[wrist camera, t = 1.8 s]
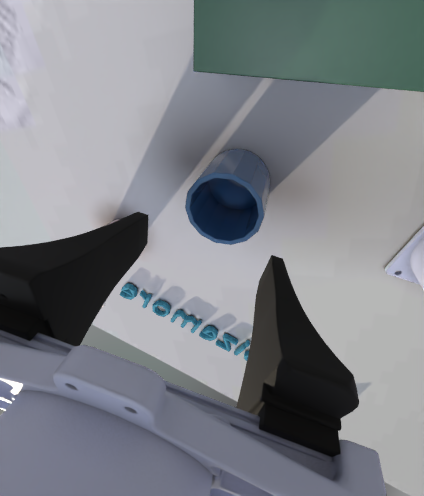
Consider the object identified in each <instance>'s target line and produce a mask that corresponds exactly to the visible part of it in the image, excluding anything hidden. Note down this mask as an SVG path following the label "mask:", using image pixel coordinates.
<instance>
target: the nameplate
mask: <svg viewBox="0 0 424 496" xmlns="http://www.w3.org/2000/svg"><path fill="white" fill-rule="evenodd" d="M120 295H121V296H122V297H124V298H126V299H130V300H131V299H133V298H134V297H136V296H137V288H136V287H135V286H134V285H132V284H128V283H127V284H125V285H124V286H123V287H122V290H121V293H120ZM140 296H142V297H143V299H144V300H145V301H144V304H143V308H145V307H147V304H148V302H149V300H150V298H151V294H148V295H147V294H146V292H145V291H144V290H142V291H141V293H140ZM157 306H162V307H163V308H165V309H166V311H162V310H160V309H159V308H157ZM153 312H154V313H156V314H157V315H159V316H163V317H165V316H166V315H168V314H169V313H170V305H169V304H168V303H166V302H165V301H161V300H158V301H156V302H155V303H154V304H153ZM179 316H181V317H182V318H183V319H184V321H183V323H182V324H181V327H182V328H183V327H184V326H185V325H186V324H187V322H192V323H193V324H194V327H193V328H192V329H191V332H192V333H194V332H195V330H196V329H197V328H198V327H199V326H200V324H201V323H202V321H201V320H199V321H197V320H196V319H195V318H194V316H187V315H186V314H185V313H184V312H183V311H182V310H178V311H176V313H175V314H174V315H173V317H172V318H171V322H172V323H173V322H174V321H175V319H176V318H177V317H179ZM202 331H203V332H202ZM202 331H201V332H200V334H199V336H200V337H202V338H203V339H206V340H209V341H211V340H214V339H216V337H217V334H218V330H216V329H215V328H214V327H212V326H207V327H205V328H204V329H203V330H202ZM223 340H224V342H225V343H223V342H221V341H219V340H217V341H216V345H217V346H219V347H221V348H223V349H225V350H227V351H230V350H231V345H230V343H229V342H231V343H233V344H235V345H237V343H238V340H237V339H236V338H234V337H232V336H230V335H228V334H226V333H225V334H224V335H223ZM249 345H250V341H248V340H247V341H246V342H245V343H243V344H242V345H241V346H239V347H238V348H237V349H236V350H235V351H234V355H236V356H237V355H238V354H239V353H241V352H242V351H243V350H244V349H245V348H246V347H248V346H249ZM248 355H249V350H248V351H246V352H245V354H244V359H245V360H246V361H247V359H248Z"/></svg>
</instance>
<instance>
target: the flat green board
mask: <svg viewBox="0 0 424 496" xmlns="http://www.w3.org/2000/svg"><path fill="white" fill-rule="evenodd" d="M194 71H196V72H207V73H219V74H230V75H241V76H252V77H263V78H275V79H286V80H297V81H308V82H319V83H331V84H342V85H353V86H364V87H376V88H387V89H398V90H409V91H420V92H424V0H194Z"/></svg>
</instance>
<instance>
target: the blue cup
mask: <svg viewBox="0 0 424 496" xmlns="http://www.w3.org/2000/svg"><path fill="white" fill-rule="evenodd" d="M269 189H270V177H269V172H268V169H267V167H266V165H265V164H264V162H263V161H262V160H261V159H260V158H259V157H258V156H257V155H255V154H254V153H252V152H250V151H247V150H243V149H231V150H227V151H224V152H223V153H221V154H219V155H218V156H216V157H215V158H214V159H213V161H212V162H211V163H210V164H209V166H208V167H207V168H206V169H205V171H204V172H203V173H202V174H201V175H200V177H199V178H198V179H197V180H196V182H195V183H194V184H193V186H192V187H191V188H190V189H189V191H188V193H187V199H186V206H185V208H186V211H187V214H188V217H189V221H190V223H191V224H192V225H193V226H194V228H195V229H196V230H197V231H198V232H199V233H200V234H201V235H202V236H204V237H206V238H208V239H210V240H211V241H213V242H216V243H222V244H230V245H232V244H236V243H240V242H244V241H247V240H248V239H249V238H250V237H252V236H253V235H254V234H255V233H256V232H258V230H259V228H260V226H261V223H262V220H263V218H264V214H265V209H266V204H267V199H268V194H269Z"/></svg>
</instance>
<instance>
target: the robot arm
mask: <svg viewBox="0 0 424 496" xmlns="http://www.w3.org/2000/svg"><path fill="white" fill-rule="evenodd" d="M147 238H148V215H146V214H143V213H140V212H137V213H134V214H132V215H129V216H127V217H125V218H123V219H120V220H118V221H116V222H113V223H111V224H108V225H106V226H103V227H101V228H98V229H95V230H93V231H90V232H87V233H84V234H80V235H77V236H73V237H69V238H65V239H60V240H56V241H51V242H46V243H39V244H32V245H25V246H14V247H2V248H0V408H1V409H3V410H5V411H4V412H3V413H2V415H1V416H0V496H387V494H386V489H385V484H384V479H383V475H382V470H381V465H380V460H379V455H378V453H377V452H376V451H375V450H372V449H370V448H367V447H364V446H362V445H359V444H356V443H354V442H351V441H348V440H339V437H338V430H341V420H340V418H342V417H343V416H345V415H347V414H349V413H350V412H352V411H353V410H355V409H356V408H357V407H358V404H359V399H358V393H357V388H356V384H355V380H354V377H353V374H352V373H351V372H350V371H349V370H348V369H347V368H346V367H345V366H344V364H343V363H342V362H341V361H340V360H339V359H338V358H337V357H336V356H335V354H334V353H333V352H332V351H331V350H330V348H329V347H328V346H327V345H326V343H325V342H324V341H323V339H322V338H321V337H320V335H319V334H318V332H317V331H316V330H315V328H314V327H313V325H312V324H311V322H310V321H309V319H308V317H307V315H306V314H305V312H304V310H303V308H302V306H301V304H300V302H299V300H298V298H297V296H296V294H295V291H294V289H293V286H292V284H291V281H290V279H289V276H288V273H287V270H286V267H285V264H284V261H283V259H282V258H279V257H276V256H273V255H272V256H271V258H270V260H269V262H268V264H267V266H266V268H265V270H264V272H263V274H262V276H261V279H260V281H259V285H258V290H257V294H256V302H255V312H254V323H253V333H252V340H251V345H250V350H249V355H248V359H247V364H246V369H245V373H244V378H243V382H242V387H241V391H240V395H239V399H238V403H237V407H233V406H230V405H228V404H225V403H222V402H220V401H217V400H215V399H212V398H209V397H207V396H204V395H201V394H198V393H196V392H193V391H191V390H188V389H185V388H183V387H180V386H178V385H175V384H172V383H169V382H167V381H165V380H163V378H162V377H161V376H159V375H158V374H157V373H156V372H155V371H153V370H151V369H149V368H147V367H145V366H142V365H139V364H137V363H134V362H131V361H129V360H126V359H124V358H121V357H118V356H116V355H113V354H110V353H108V352H105V351H102V350H99V349H97V348H94V347H91V346H87V345H80V344H81V342H82V340H83V338H84V336H85V335H86V333H87V331H88V329H89V327H90V326H91V324H92V322H93V320H94V319H95V317H96V315H97V314H98V312H99V310H100V309H101V307H102V306H103V304H104V302H105V301H106V299H107V298H108V296H109V295H110V293H111V291H112V290H113V289H114V287H115V286H116V285H117V283H118V282H119V281H120V280H121V278H122V277H123V276H124V275H125V273H126V272H127V271H128V270H129V269H130V267H131V266H132V265H133V264H134V262H135V261H136V260H137V259H138V257H139V256H140V254H141V253H142V251H143V249H144V248H145V246H146V244H147ZM385 271H386V273H387V274H389V275H392V276H395V277H398V278H401V279H404V280H407V281H411V282H414V283H417V284H420V285H421V287H422V289H423V290H424V226H423V227H422V228H421V229H420V230H419V231H418V233H417V234H416V235H415V236H414V237H413V238H412V239H411V240H410V241H409V242H408V243H407V244H406V246H405V247H404V248H403V249H402V250H401V251H400V252H399V253H398V254H397V255H396V256H395V257H394V259H393V260H392V261H391V262H390V263H389V264H388V265H387V266H386V267H385ZM396 271H399V272H396Z"/></svg>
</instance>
